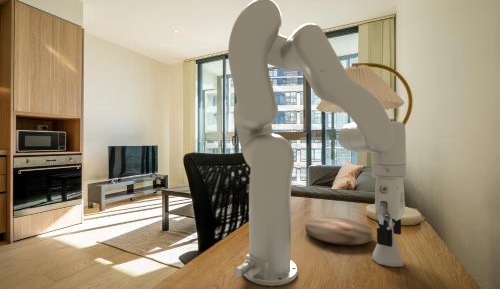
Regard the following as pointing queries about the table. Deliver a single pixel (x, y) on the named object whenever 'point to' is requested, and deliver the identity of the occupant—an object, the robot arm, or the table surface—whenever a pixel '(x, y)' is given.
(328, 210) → the table surface
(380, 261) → the flask
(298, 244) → the table surface
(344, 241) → the turntable
